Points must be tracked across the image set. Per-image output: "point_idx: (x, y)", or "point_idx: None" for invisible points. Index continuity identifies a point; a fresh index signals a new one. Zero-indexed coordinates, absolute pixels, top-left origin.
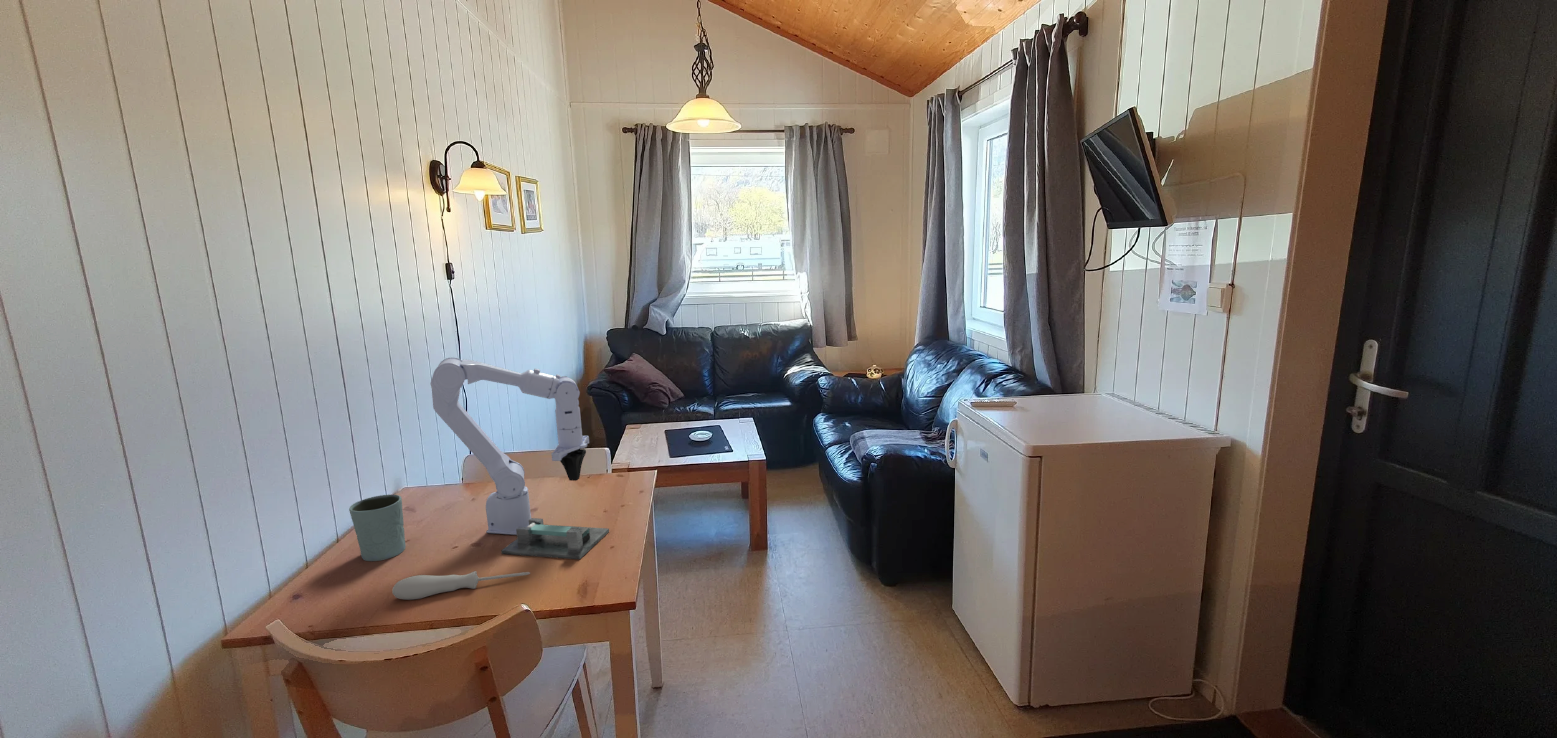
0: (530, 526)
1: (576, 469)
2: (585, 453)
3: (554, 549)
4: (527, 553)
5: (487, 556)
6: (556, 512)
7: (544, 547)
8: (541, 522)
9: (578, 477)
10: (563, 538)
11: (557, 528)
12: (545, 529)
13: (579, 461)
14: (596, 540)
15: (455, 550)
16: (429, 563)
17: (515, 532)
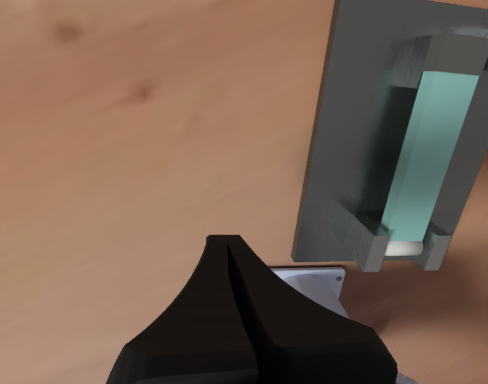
0: (410, 245)
1: (272, 271)
2: (138, 341)
3: (472, 125)
4: (467, 191)
5: (441, 275)
6: (181, 259)
7: (450, 162)
8: (379, 231)
9: (224, 238)
10: (402, 134)
11: (429, 157)
12: (430, 193)
13: (233, 307)
14: (435, 2)
15: (398, 346)
16: (445, 352)
17: (338, 285)
